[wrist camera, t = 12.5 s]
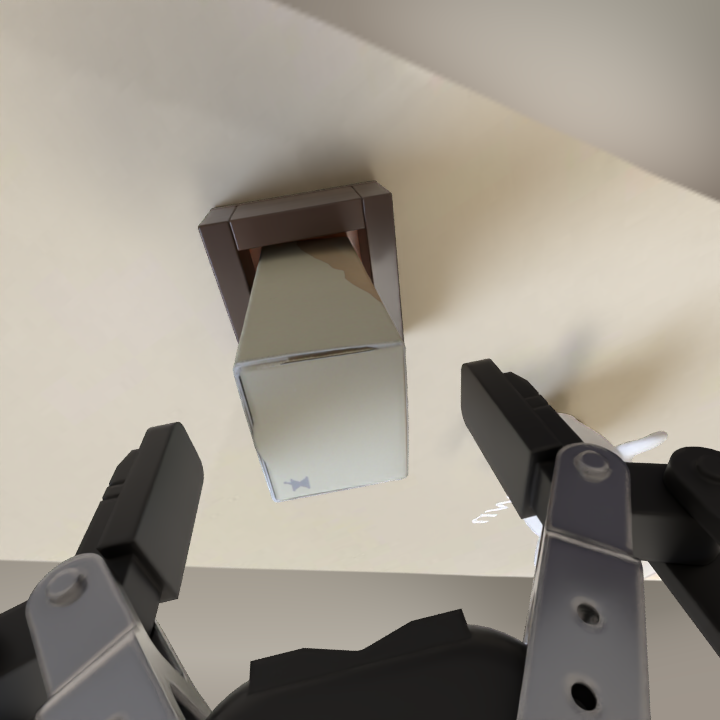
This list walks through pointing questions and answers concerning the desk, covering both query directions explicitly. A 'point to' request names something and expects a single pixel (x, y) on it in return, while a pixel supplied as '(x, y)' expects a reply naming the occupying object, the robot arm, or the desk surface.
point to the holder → (298, 223)
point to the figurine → (593, 437)
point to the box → (321, 373)
